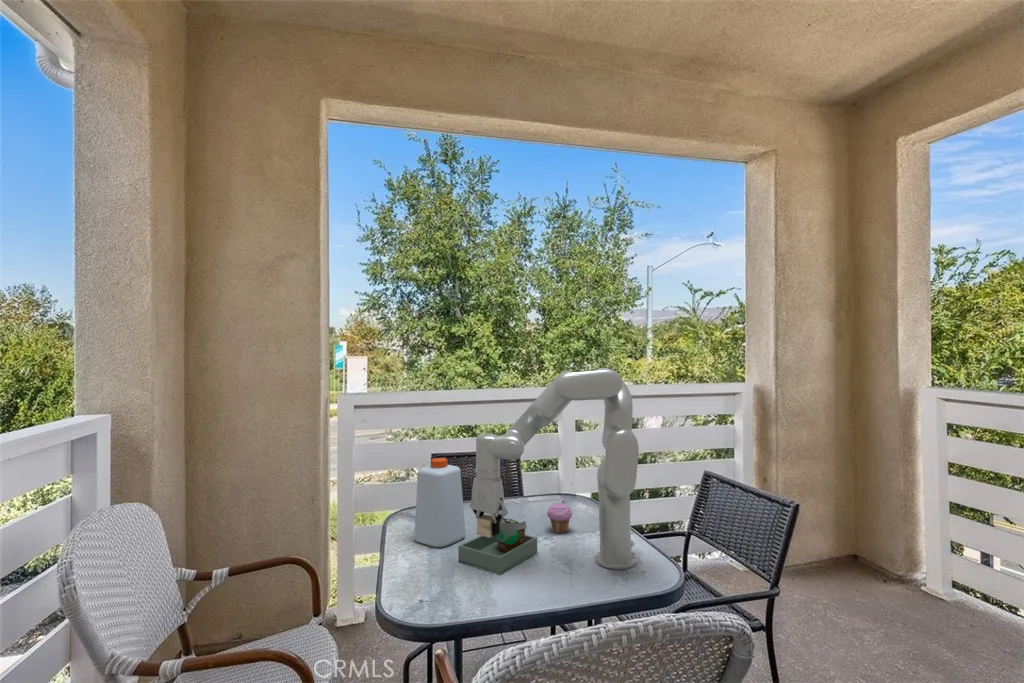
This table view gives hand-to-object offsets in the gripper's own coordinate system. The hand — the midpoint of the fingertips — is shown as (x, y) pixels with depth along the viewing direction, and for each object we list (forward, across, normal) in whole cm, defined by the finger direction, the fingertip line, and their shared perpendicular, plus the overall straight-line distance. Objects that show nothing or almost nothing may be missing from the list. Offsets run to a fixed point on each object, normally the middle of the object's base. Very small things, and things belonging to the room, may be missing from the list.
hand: (488, 531), depth 158 cm
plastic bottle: (+10, -27, +6) cm, 29 cm away
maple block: (+1, 0, 0) cm, 1 cm away
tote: (+9, 0, +5) cm, 11 cm away
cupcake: (+9, +4, +36) cm, 37 cm away
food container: (+9, 0, +9) cm, 12 cm away
